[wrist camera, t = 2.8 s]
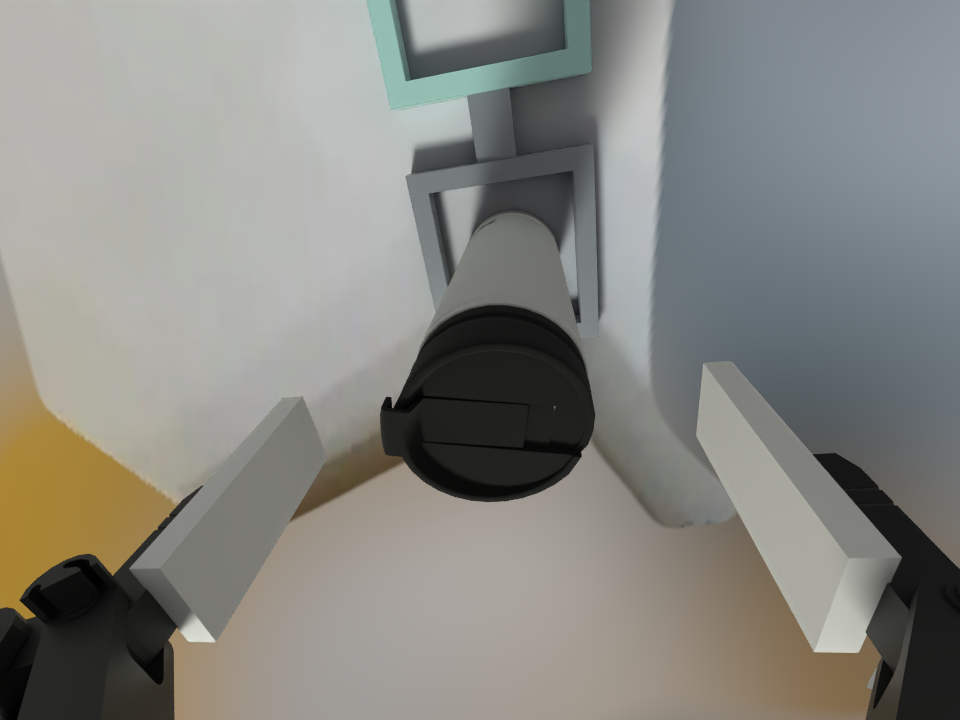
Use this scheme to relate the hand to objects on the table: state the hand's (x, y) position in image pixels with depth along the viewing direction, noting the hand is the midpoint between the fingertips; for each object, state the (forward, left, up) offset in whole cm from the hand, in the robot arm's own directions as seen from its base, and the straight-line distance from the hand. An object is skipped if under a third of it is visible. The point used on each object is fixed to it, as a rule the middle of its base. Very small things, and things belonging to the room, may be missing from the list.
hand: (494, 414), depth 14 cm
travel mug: (0, 0, -18) cm, 18 cm away
